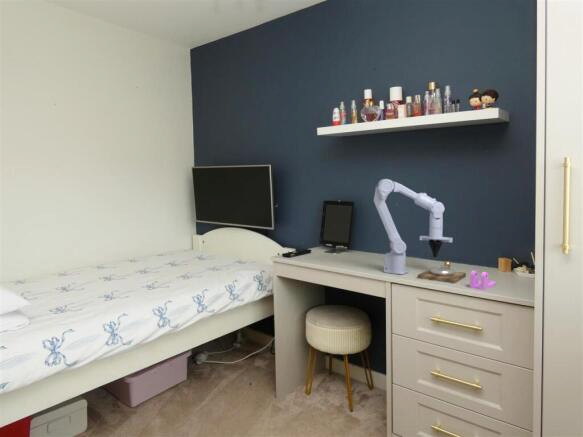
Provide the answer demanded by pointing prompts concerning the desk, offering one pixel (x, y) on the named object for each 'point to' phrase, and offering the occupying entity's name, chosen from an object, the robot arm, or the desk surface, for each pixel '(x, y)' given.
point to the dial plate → (442, 277)
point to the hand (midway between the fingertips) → (435, 256)
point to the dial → (442, 270)
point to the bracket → (484, 282)
